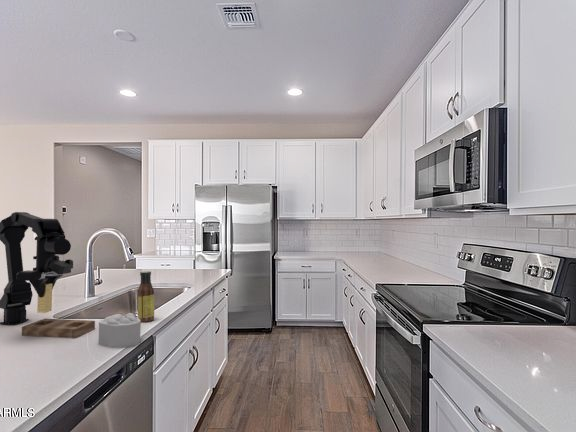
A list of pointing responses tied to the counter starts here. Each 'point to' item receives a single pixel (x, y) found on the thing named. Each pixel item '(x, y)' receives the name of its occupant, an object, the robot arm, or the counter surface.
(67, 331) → the mount board
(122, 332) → the lumpy-topped squat cylinder
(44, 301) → the pin
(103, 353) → the counter surface
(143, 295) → the sauce bottle
